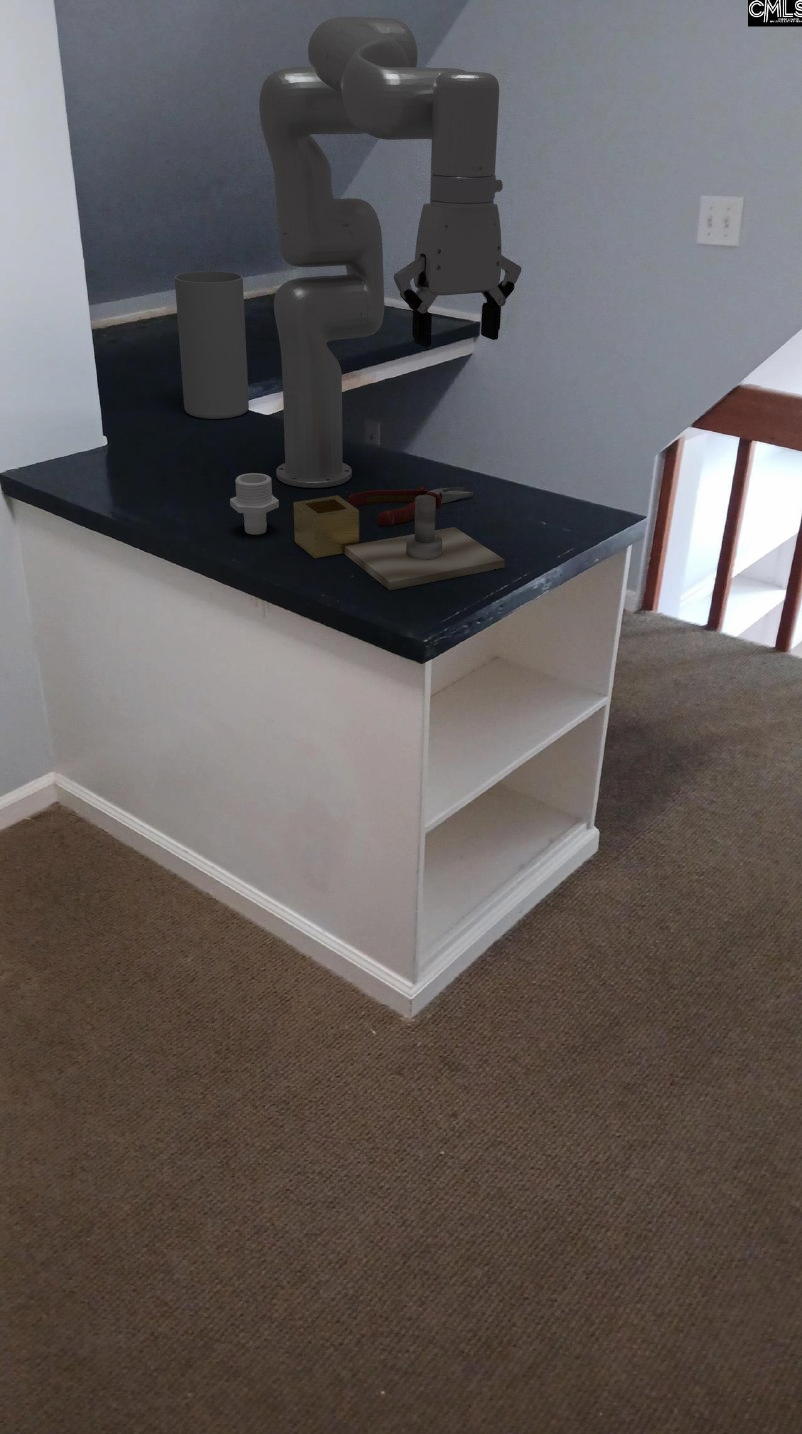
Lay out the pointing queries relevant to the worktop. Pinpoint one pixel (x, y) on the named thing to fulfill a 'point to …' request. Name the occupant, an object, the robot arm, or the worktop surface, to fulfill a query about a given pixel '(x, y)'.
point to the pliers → (404, 501)
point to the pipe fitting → (254, 501)
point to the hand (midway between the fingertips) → (456, 341)
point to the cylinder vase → (212, 343)
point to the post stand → (423, 553)
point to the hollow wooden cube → (325, 525)
